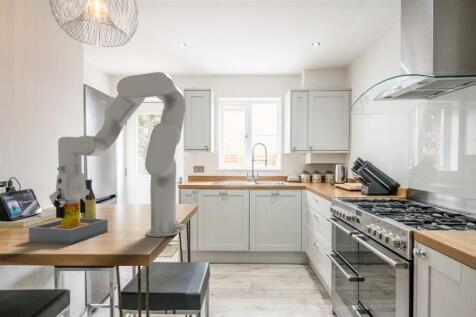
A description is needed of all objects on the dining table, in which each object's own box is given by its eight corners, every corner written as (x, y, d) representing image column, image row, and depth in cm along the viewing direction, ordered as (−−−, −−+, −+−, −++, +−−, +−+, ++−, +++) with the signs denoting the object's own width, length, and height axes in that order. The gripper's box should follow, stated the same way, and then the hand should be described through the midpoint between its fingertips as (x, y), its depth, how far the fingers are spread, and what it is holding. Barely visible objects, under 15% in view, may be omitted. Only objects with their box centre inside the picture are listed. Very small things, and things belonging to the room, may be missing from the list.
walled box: (107, 231, 114) (107, 219, 114) (70, 245, 96) (70, 230, 96) (70, 229, 118) (70, 217, 118) (28, 241, 101) (28, 227, 101)
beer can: (72, 236, 104) (71, 195, 104) (57, 235, 105) (57, 194, 105) (83, 232, 110) (83, 193, 110) (69, 231, 111) (69, 192, 111)
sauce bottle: (99, 221, 135) (98, 178, 135) (91, 224, 128) (90, 179, 128) (86, 221, 135) (85, 179, 135) (77, 224, 129) (76, 179, 129)
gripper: (58, 170, 98) (59, 220, 98) (95, 168, 115) (96, 211, 115) (41, 170, 100) (42, 219, 100) (80, 169, 117) (81, 210, 117)
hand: (71, 215), depth 107 cm, fingers open, 9 cm apart
